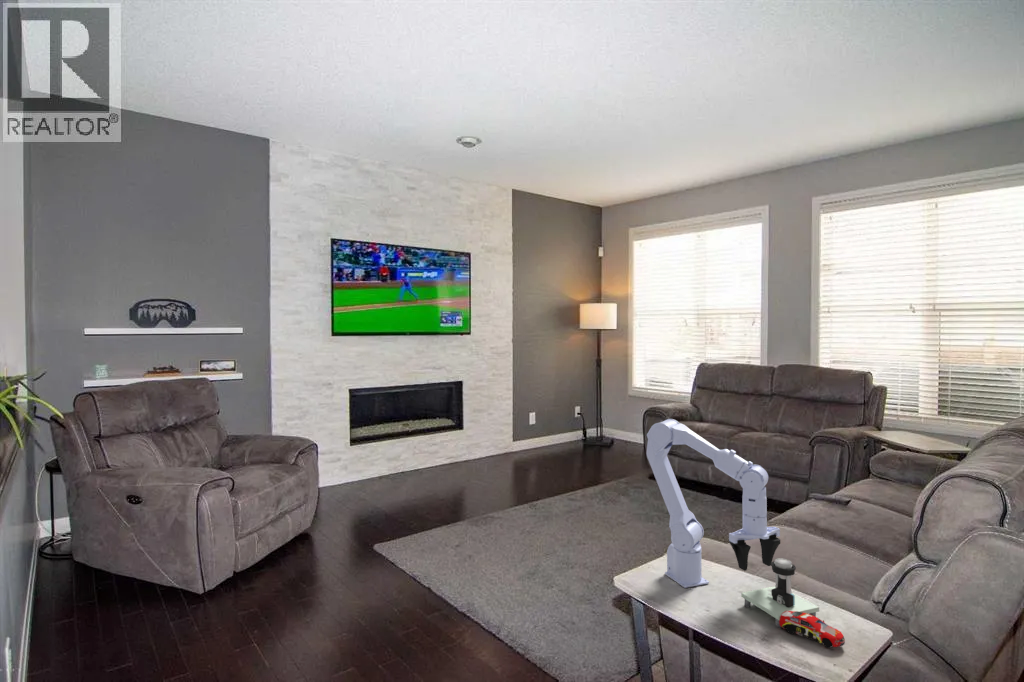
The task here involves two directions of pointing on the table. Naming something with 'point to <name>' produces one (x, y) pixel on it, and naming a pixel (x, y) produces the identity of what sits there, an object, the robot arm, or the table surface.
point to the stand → (773, 607)
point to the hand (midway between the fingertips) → (754, 566)
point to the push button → (783, 582)
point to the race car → (811, 628)
